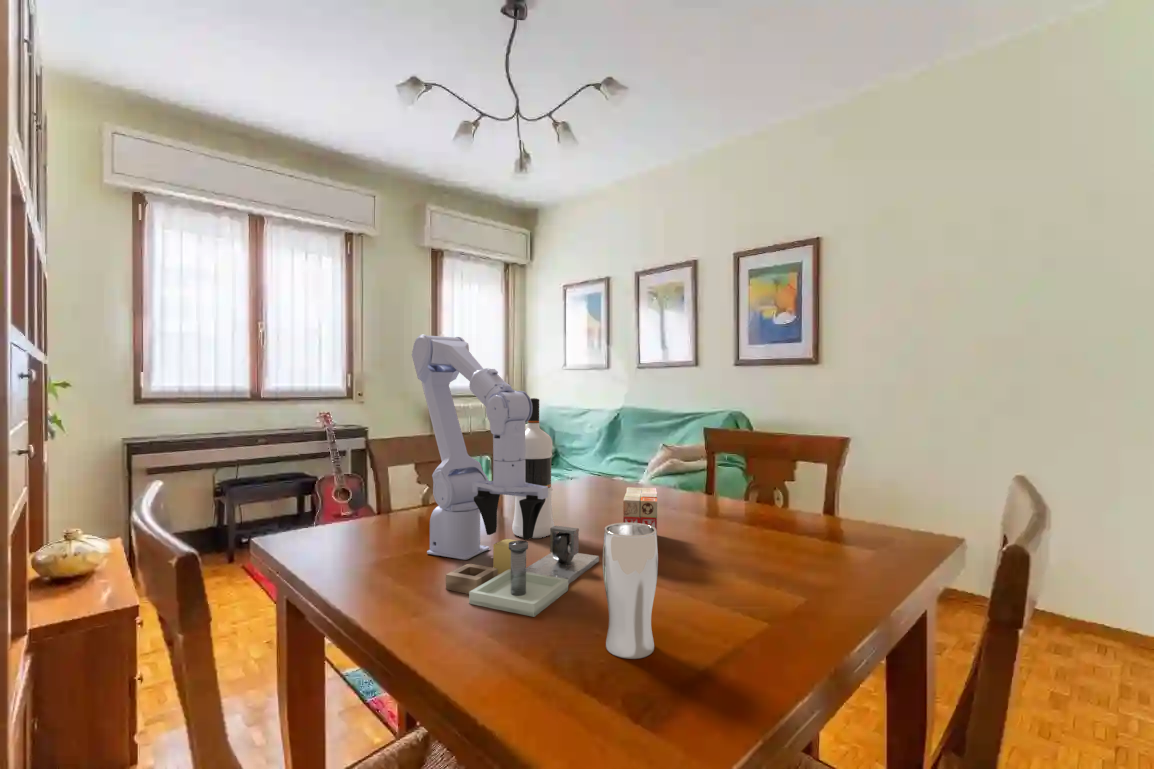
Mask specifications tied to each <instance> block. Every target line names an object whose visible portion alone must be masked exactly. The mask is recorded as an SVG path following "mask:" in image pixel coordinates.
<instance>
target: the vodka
mask: <svg viewBox="0 0 1154 769" xmlns="http://www.w3.org/2000/svg"><path fill="white" fill-rule="evenodd" d="M530 399H531V402H532V415H531V417H530V419H529V420H528V421H527V427H526V428H525V483H530V484H535V485H540V486H548V497H547V498H545V503H544V504H543V506H542V508H541V510H540V513H539V515H538V518H537V521H536V524H535V528H534V532H533V537H532V538H533V539H542V537H543V538H546V536H547V537H549V536H550V528H551V527H553V526H555V521H554V519H553V518H554V516H553V505H552V502H553V501H552V494H553V493H552V492H553V487H552V456H553V453H552V452H553V451H552V450H553V440H552V437H551V435H549V434H548V433H547V432H545V431H544V430H543V429H541V428H540V399H539V398H536V397H534V398H530ZM523 499H526V497H523V496H514V512H513V513H514V514H513V521H512V524H511V525H512V526H511V527H512V529H511V530H512V532H513V534H514V535H515V536H517V537H518V536H519V538H522V539H524V538H523V518H522V512H521V507H520V504H519V501H520V500H523Z"/></svg>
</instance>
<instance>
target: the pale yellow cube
mask: <svg viewBox="0 0 1154 769" xmlns="http://www.w3.org/2000/svg"><path fill="white" fill-rule="evenodd" d="M511 541H517V539H510V538H505V539H502V540H500V541H498V542H495V543H494V544H493V546H492V547H493V550H492V551H493V552H492V553H493V554H492V556H493V557H492V560H493V562H492V563H493V564H492V565H493V566H492V568H498V575H499V574H501V573H503V572H505V571H506V570H508V569H510V570H511V550H509V542H511Z"/></svg>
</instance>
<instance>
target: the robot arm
mask: <svg viewBox="0 0 1154 769" xmlns="http://www.w3.org/2000/svg"><path fill="white" fill-rule="evenodd" d="M413 342H414V343H413V348H412V351H411V356H412V357H411V358H412V362H413V365H414V369H415V372H416V373H415V374H416V376H417V377H416V378H417V379H418V380H419V381H420V382H421V385H422V386H421V387H422V390H423V394H424V398H425V402H426V406H427V410H428V413H429V417H430V421H431V426H432V428H433V432H434V436H435V441H436V445H437V449H438V452H439V455H440V460H441V463H440V464H438V466H437V467H436V468H435V470H433V473H432V474H431V477H432V484H433V485H432V486H433V487H432V494H433V498H434V501H435V503H436V504H437V506H436V507H435V508H434V509H433V510H432V512H431V515H430V517H429V518H430V519H429V549H428V550H427V551H426V554H428V555H433V556H441V557H445V558H446V557H447V558H452V559H457V560H464V561H466V560H469V559H471V558H474V557H475V556H478V555H479V554H481V553H483V552H486V551H488V550H489V549H490V546H488V545H483V544H481V517H482V521H483V524H484V529H485V532H486V535H487V536H491V535H494V534H495V533H497V527H498V525H497V524H498V506H499V501H500V496H501V495H504V496H505V495H506V496H513V497H515V496H523V497H526V499H523V500H520V501H519V504H520V507H521V512H522V518H523V538H522V539H523V541H528V540H531V539H530V538H532V537H533V532H534V528H535V524H536V521H537V518H538V515H539V513H540V510H541V508H542V506H543V504H544V503H545V498H547V497H548V486H540V485H535V484H530V483H525V430H526V423H528V420H529V419H530V417H531V415H532V402H531V398H530V396H529V394H528V393H527V392H526V391H524V390H516V389H513V388H512V385H511V384H509V383H507V382H506V381H505V380H504V379H503V377H501V375H499V371H497V369H495V368H489V367H487V368H484V367H483V366H482V365H481V364H480V363H479V361H478V360H477V359H476V357H474V356H473V354H472V353H471V352H470V346H469V343H468V342H467V341H465V339H464V338H463V337H460V336H456V337H455V336H454V337H453V336H438V335H427V334H423V333H422V334H419V335H418V336H417V338H416V339H415V340H414V341H413ZM459 374H460V375H462V376H463V377H464V378H465V379H466V380H467V381H469V386H468V387H469V389H470V391H471V393H472V394H473V395H474V396H475V397H476V398H477V399H478V400H479V401H480V403H482V405H483V406H484V407H485V414H486V417H487V419H488V421H489V430H490V433H491V434H492V443H493V444H492V446H493V448H492V455H493V456H492V460H493V464H492V466H493V468H492V469H493V470H492V472H493V473H492V474H493V475H492V480H489V478H488V476H487V475H486V473H485V472H484V470H483V467H482V465H481V462H480V461H478V460H476V459H475V458H473V457H472V456H470V455H469V454H468V451H467V447H466V443H465V439H464V435H463V432H462V428H461V424H460V421H459V418H458V414H457V410H456V406H455V404H454V399H453V396H452V392H451V388H450V384H451V382H454V381H455V380H457V378H458V376H459Z"/></svg>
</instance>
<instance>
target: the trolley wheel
mask: <svg viewBox="0 0 1154 769" xmlns="http://www.w3.org/2000/svg"><path fill="white" fill-rule="evenodd" d="M579 531H580V529H579V528H578V527H569V526H564V525H563V526H562V525H560V526H559V525H554V526H553V527H551V528H550V535H549V536H550V539H549V540H550V543H549V544H550V545H549V547H550V550H549V551H550V552H549V553H548V554H547V555H544V556H543V557H542V558H540V559H538V560H537V561H535V562H534V563H532V564H530V565H528V566H526V572H528V573H534V574H540V575H546V576H552V577H558V578H564V579H568V585H570V584H571V583H573V582H574V581H575V580H577V578H580V576H582V575H583V574H584V573H586V572H587V571H588V570H590V569H591V568H592V567H593V566H595V565H596V564H598V563H599V561H600V556H599V555H595V554H594V555H593V554H588V553H580V552H579V536H580V535H579V534H580V533H579Z"/></svg>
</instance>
